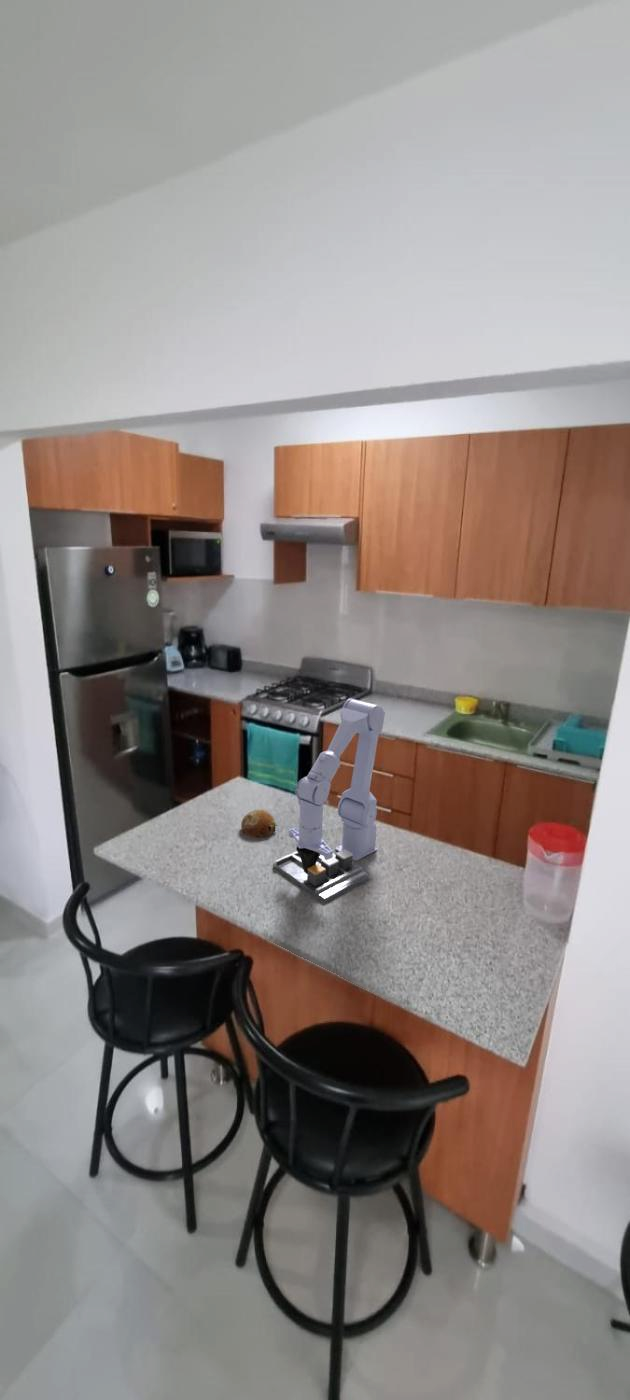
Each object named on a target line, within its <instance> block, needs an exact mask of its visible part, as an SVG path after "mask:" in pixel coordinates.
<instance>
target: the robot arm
mask: <svg viewBox="0 0 630 1400" xmlns="http://www.w3.org/2000/svg"><path fill="white" fill-rule="evenodd" d="M385 714H386V713H385V710H384V708H383V707H382V706H381V705H379V704H374V703H371V702H366V701H362V700H358V699H355V698H348V699H347V700H345V702H344V704H343V706H342V709H341V710H340V723H339V725H338V727H337V728H336V731H335V734H334V736H333V737H332V740H331V742H330V744H329V746H328V749H327V750H325V751H322V752H320V753H319V755H318V757H317V759H316V760H315V762H314V764H313V765H312V767H311V769H310V771H309V772H308V774H307V775H306V776H304V777H303V778H301V779H300V780H299V781H298V783H297V785H296V789H295V790H294V793H295V796H296V798H297V804H298V805H299V822H298V823H299V829H298V828H296V827H293V828H292V827H291V828H290V829H288V838H291V839H294V840H295V841H296V843H295V844H296V845H295V847H296V848H295V850H296V851H297V852H298V854H299V856H300V858H301V861H302V864H303V869H304V872H305V873H306V874H307V873H308V868H310V867H312V866H314V865H316V862H317V860H318V858H319V856H320V855H323V856H324V859H326V860H328V859H330V858H332V857H333V853H334V850H333V849H332V848H330V847H329V846H328V845H327V843H326V842H325V840H323V817H324V816H323V815H324V803H325V802H326V801H327V799H328V798H329V796H330V795H329V793H330V790H331V787H332V786H331V785H332V783H331V782H332V780H333V779H334V776H335V774H336V773H337V771H338V769H339V768H340V767H341V760H340V757H341V756H342V754H343V753H344V751H345V750H346V749H347V747H348V745H349V744H350V742H351V741H352V739H353V738H354V737H355V736H356V734H358V738H357V739H358V740H357V745H356V752H355V759H354V764H353V769H352V776H351V777H352V778H351V783H350V788H348V789H346V790H344V791H343V792H342V793H341V797H340V800H339V802H338V805H337V814H338V816H339V817H341V818H340V819H341V822H343V824H342V839H341V841H342V842H341V844H340V845H339V846H336V847H335V848H334V849H335V850H336V851H338V852H340V851H342V850H344V849H345V850H347V851H349V852H351V853H352V854H353V859H352V861H354V862H356V861H358V860H360V859H362V858H364V857H366V856H368V855H370V854H373V853H374V852H377V851H378V847H376V841H377V840H376V839H377V825H376V823H375V821H376V818H377V816H378V811H377V801H378V800H377V799H376V797H375V796H374V795H373V794H372V792H371V791H370V789H371V784H372V783H371V782H372V777H373V771H374V765H375V758H376V754H377V753H376V752H377V745H378V740H379V735H380V734H382V732H383V728H384V727H383V726H384V720H385Z"/></svg>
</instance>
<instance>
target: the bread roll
mask: <svg viewBox="0 0 630 1400" xmlns="http://www.w3.org/2000/svg"><path fill="white" fill-rule="evenodd" d="M240 827H241V830H242V832H243V833H244V834H245V836H249V837H253V838H266V837H269V836H271V835H273V833H275V832H276V827H278V824H277V823H276V822H275V818H274V817H273V815H272V814H271V813H270V812H269V811H268V810H265V809H260V808H259V809H254V810H251V811H250V812H248V813H246V815H244V816H243V818H242V821H241V826H240Z"/></svg>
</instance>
